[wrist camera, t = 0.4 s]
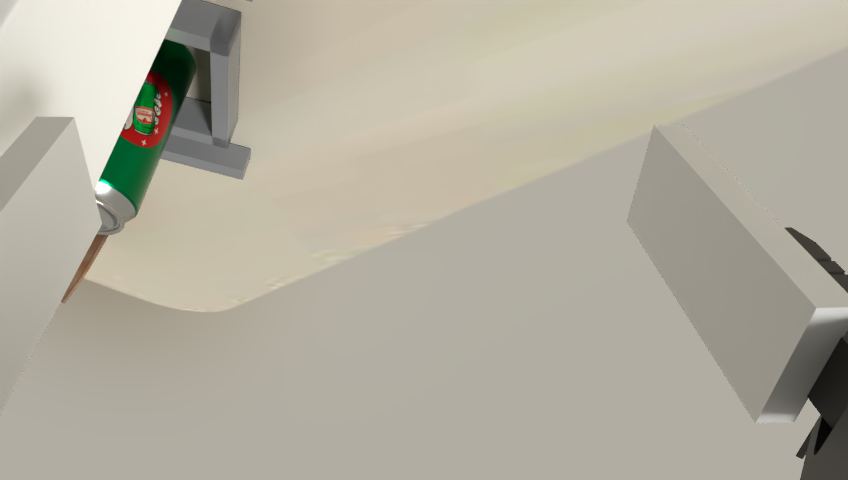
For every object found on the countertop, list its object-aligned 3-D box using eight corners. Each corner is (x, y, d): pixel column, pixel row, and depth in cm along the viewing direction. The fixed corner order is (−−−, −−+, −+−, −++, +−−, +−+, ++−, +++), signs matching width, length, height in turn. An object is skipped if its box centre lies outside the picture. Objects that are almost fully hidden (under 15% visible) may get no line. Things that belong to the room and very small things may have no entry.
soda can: (137, 75, 43) (62, 235, 37) (97, 13, 38) (5, 183, 32) (211, 79, 42) (146, 242, 36) (179, 16, 38) (100, 190, 32)
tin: (98, 238, 65) (63, 316, 61) (64, 225, 64) (27, 304, 59) (139, 177, 54) (101, 268, 50) (100, 160, 52) (57, 253, 48)
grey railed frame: (-328, -231, 29) (-377, -194, 27) (263, -44, 33) (247, -3, 32) (-133, 56, 45) (-159, 89, 43) (250, 157, 49) (239, 191, 47)
